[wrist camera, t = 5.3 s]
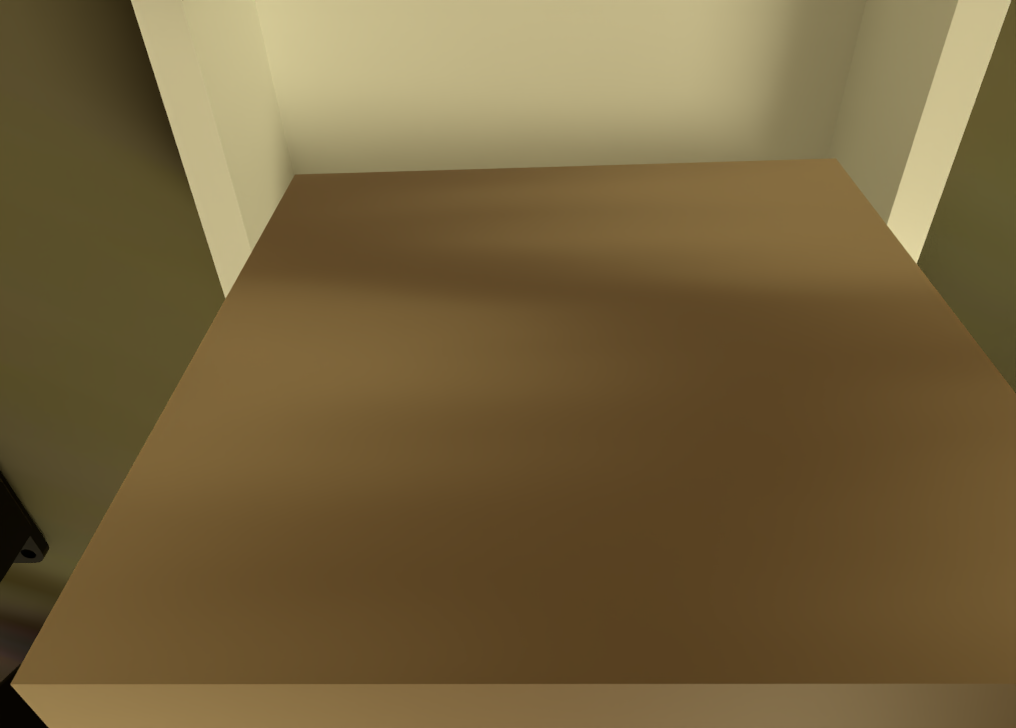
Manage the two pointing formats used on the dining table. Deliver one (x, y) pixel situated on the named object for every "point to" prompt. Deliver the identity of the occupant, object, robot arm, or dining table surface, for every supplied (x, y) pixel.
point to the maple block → (560, 472)
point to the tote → (561, 92)
